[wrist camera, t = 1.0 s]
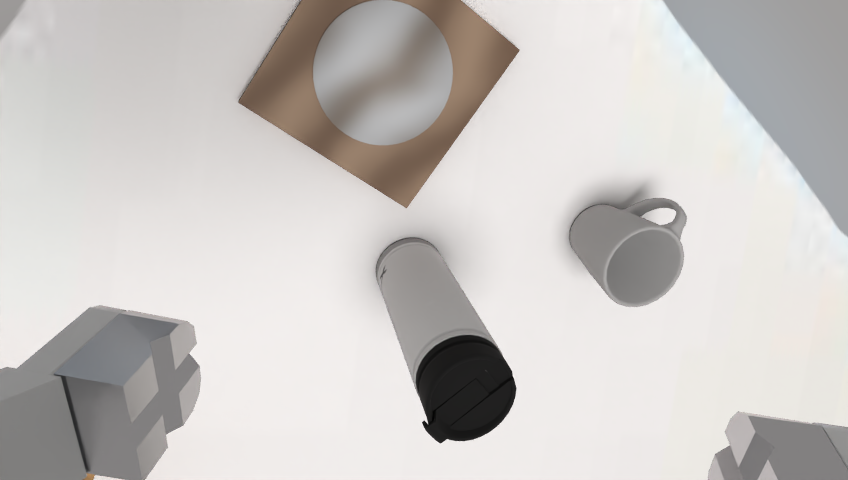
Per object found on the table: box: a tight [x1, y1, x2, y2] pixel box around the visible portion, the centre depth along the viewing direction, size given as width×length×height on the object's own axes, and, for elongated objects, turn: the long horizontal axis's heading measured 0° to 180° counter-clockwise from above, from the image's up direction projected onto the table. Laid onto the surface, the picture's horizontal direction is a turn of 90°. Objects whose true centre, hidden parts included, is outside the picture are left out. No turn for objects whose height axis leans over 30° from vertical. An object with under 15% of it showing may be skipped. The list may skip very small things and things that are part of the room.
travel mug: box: [376, 238, 516, 443], centre depth 46 cm, size 6×7×20 cm
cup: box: [570, 198, 687, 307], centre depth 54 cm, size 8×10×8 cm
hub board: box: [238, 0, 520, 208], centre depth 47 cm, size 16×16×1 cm
